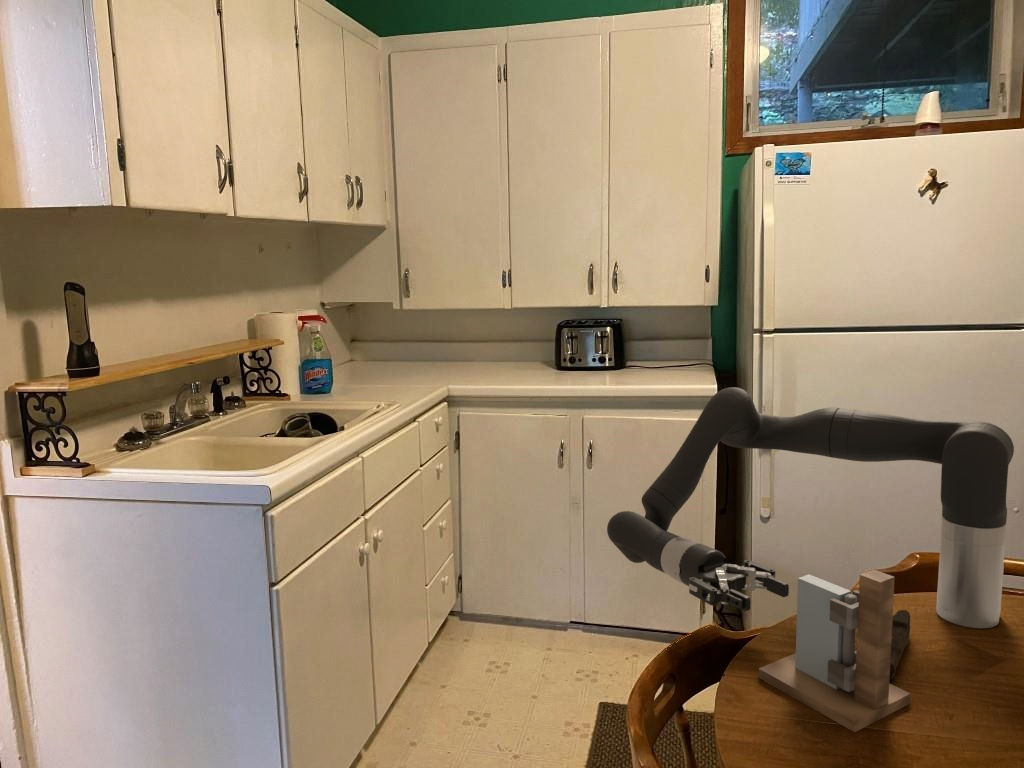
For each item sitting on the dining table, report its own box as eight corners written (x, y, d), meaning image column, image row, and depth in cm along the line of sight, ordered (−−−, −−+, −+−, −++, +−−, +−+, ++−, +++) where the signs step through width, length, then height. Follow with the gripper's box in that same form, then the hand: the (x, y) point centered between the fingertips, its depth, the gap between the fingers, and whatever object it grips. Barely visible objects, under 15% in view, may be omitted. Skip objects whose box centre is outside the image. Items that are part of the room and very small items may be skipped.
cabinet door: (806, 663, 115) (809, 574, 113) (857, 689, 107) (861, 595, 105) (795, 667, 114) (797, 578, 111) (846, 694, 106) (850, 599, 104)
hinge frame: (812, 655, 120) (816, 535, 117) (909, 703, 106) (917, 569, 103) (758, 677, 114) (761, 552, 111) (854, 732, 100) (860, 591, 97)
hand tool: (893, 688, 111) (894, 658, 110) (863, 679, 113) (865, 650, 112) (923, 637, 125) (925, 610, 124) (897, 630, 127) (898, 604, 127)
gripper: (723, 575, 136) (799, 609, 122) (662, 595, 129) (734, 633, 115) (723, 534, 135) (800, 564, 121) (661, 552, 128) (735, 586, 114)
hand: (768, 597), depth 118 cm, fingers open, 8 cm apart
